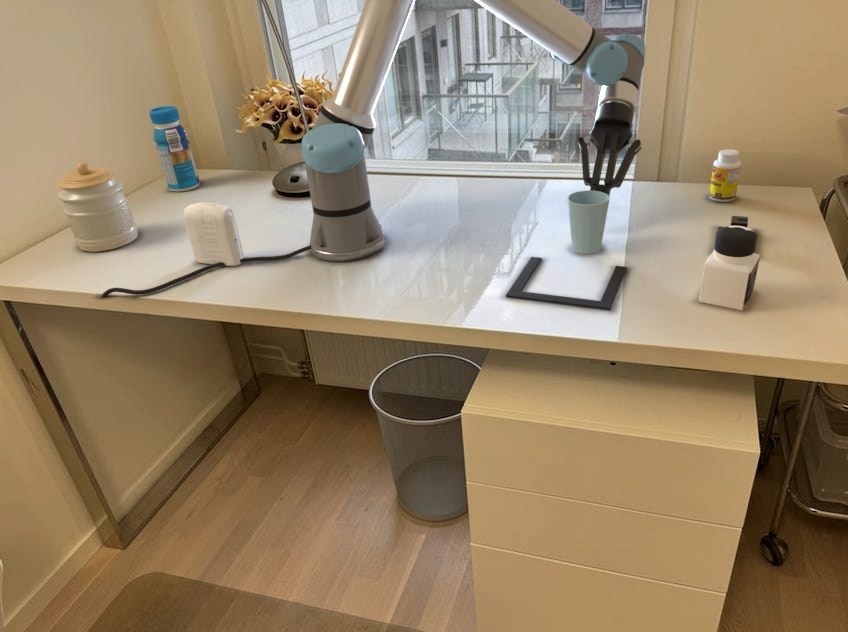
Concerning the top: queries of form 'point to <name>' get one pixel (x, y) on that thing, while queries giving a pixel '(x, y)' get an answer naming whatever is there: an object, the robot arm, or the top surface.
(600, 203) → the cup
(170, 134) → the beverage bottle
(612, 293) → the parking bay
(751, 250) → the medicine bottle
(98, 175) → the jar
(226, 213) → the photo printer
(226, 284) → the top surface
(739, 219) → the build plate
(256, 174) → the top surface
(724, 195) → the supplement bottle
